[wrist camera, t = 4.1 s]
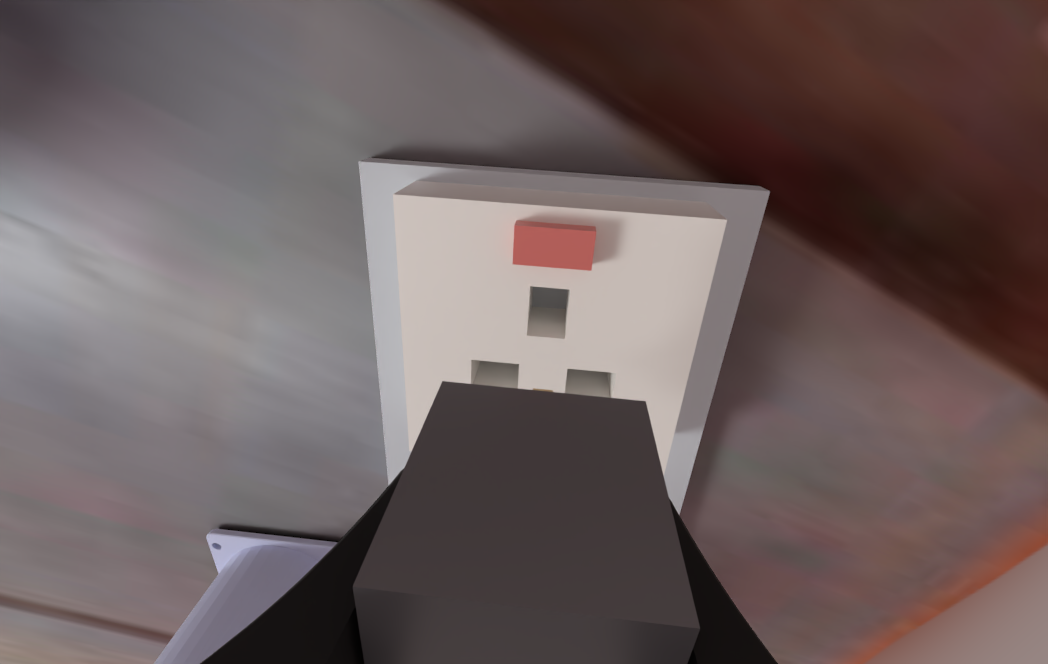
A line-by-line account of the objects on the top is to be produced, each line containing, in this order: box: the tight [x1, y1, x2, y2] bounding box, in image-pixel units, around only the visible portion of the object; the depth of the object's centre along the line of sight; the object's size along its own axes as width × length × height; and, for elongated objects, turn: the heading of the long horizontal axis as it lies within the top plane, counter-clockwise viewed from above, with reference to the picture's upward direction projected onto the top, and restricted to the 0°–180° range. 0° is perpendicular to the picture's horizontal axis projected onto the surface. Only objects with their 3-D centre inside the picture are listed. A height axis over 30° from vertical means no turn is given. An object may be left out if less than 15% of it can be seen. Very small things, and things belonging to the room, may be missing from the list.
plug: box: [353, 381, 700, 664], centre depth 11 cm, size 4×7×6 cm, turn 177°
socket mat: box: [359, 158, 770, 515], centre depth 21 cm, size 19×14×1 cm
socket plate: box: [393, 181, 727, 476], centre depth 18 cm, size 10×10×3 cm
